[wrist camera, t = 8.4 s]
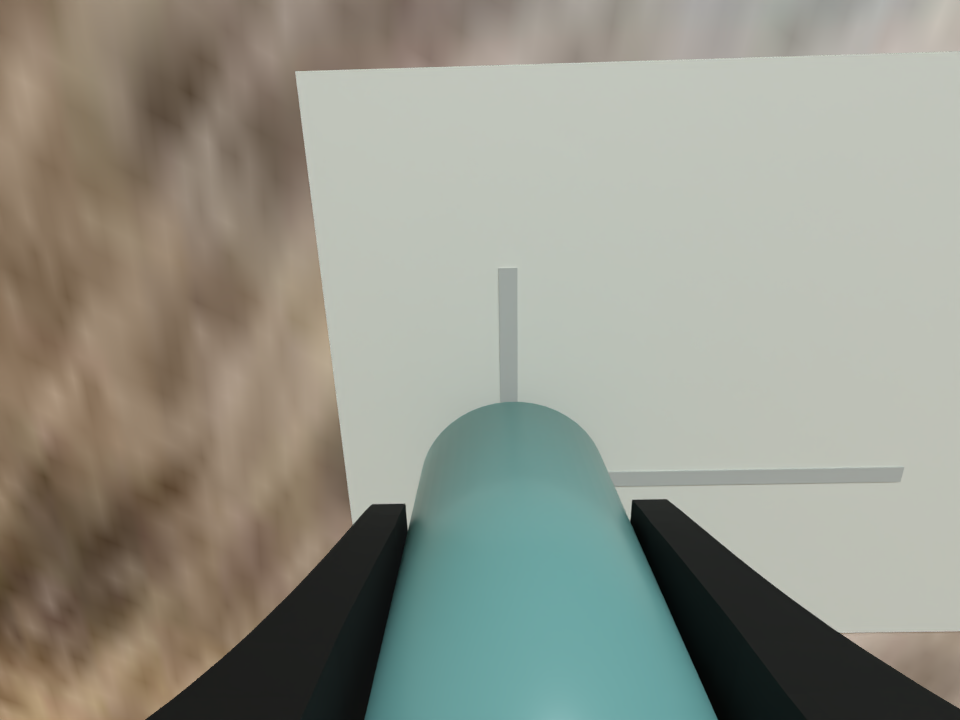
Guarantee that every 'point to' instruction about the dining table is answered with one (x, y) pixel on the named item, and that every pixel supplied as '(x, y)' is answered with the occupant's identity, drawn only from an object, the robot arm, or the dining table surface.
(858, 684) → the robot arm
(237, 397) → the dining table surface
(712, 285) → the paper pad
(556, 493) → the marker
